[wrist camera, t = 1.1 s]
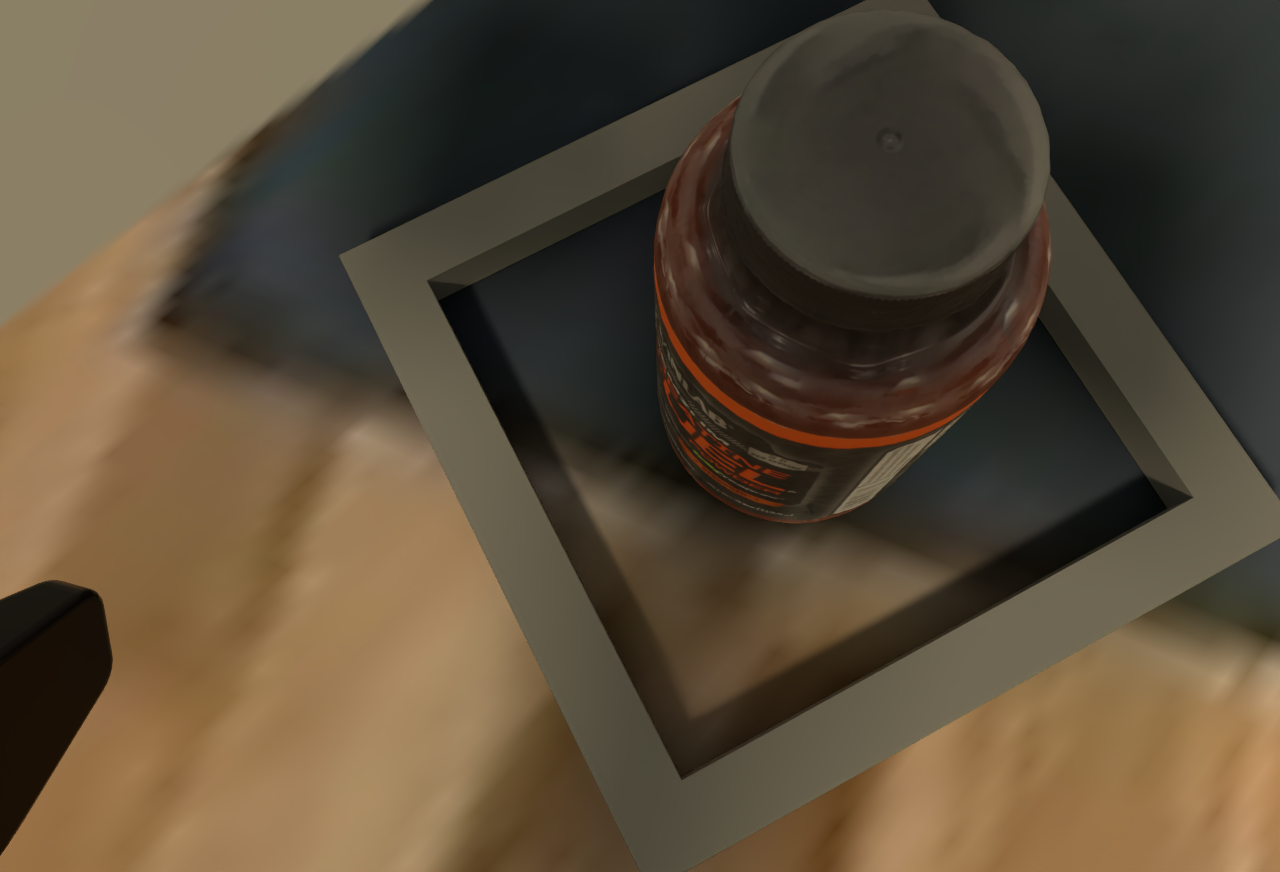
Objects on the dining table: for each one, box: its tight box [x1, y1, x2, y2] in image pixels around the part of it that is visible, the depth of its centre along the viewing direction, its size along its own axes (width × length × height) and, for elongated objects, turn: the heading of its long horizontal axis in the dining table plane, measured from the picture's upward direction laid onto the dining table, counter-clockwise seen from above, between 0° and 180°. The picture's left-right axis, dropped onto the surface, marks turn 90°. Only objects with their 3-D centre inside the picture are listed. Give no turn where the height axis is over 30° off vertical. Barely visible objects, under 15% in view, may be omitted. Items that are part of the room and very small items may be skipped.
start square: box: [339, 0, 1280, 872], centre depth 23 cm, size 15×15×1 cm
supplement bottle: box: [654, 9, 1052, 524], centre depth 18 cm, size 6×6×11 cm
